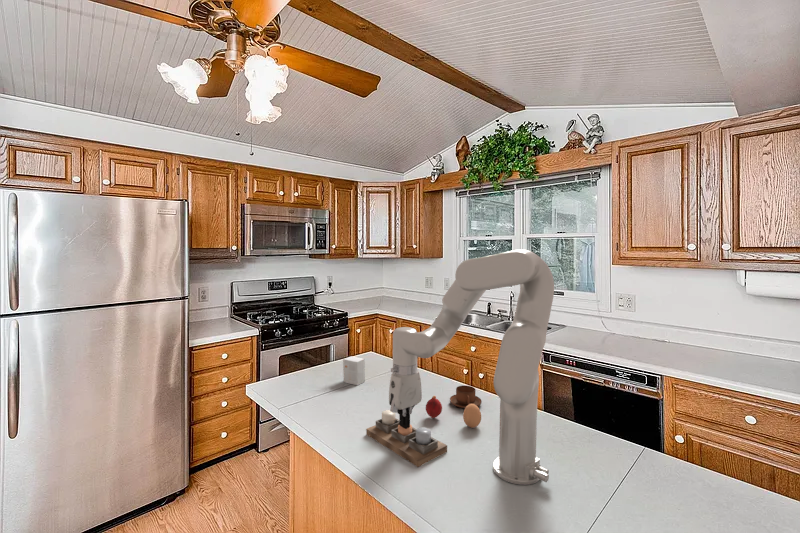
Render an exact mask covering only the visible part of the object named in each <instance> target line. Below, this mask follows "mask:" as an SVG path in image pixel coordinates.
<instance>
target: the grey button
mask: <svg viewBox="0 0 800 533" xmlns="http://www.w3.org/2000/svg"><path fill="white" fill-rule="evenodd" d="M415 429H416V443H418V444H420V445H427V444H429V443H430V442H431V437H432V430H431V429H430V428H429V427H419V428H415Z"/></svg>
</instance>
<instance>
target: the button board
mask: <svg viewBox="0 0 800 533" xmlns="http://www.w3.org/2000/svg"><path fill="white" fill-rule="evenodd" d="M398 425H399V418H396V417H395V424H393V425H384V424H383V423H382V418H379V419H377V420H375V425H371V426H370V427H368V428H365V431H366V433H365V434H366V436H367V437H369V438H371V439H372V440H373V441H375V442H377V443H379V444H380V445H382V446H383V447H385V448H387V449H388V450H390V451H391V452H392V453H395V454H397V455H398V457H399V456H400V457H401V458H403V459H404V460H406V461H407V462H409V463H410V464H412V465H414V466H415V467H417V468H419V467H422V466H423V465H425V464H427V463H428V462H431V461H432V460H434V459H436V458H438V457H440V456H442V455H444V454H446V453H448V445H447V444H446V443H443V442H442V441H440V440H437V438H434V437H432V436H431V442H430V443H429V444H427V445H420V444H418V443H416V429H417V428H415V427H413V426H412V433H410V434H408V435H406V436H403V435H402V434H400V433H398Z"/></svg>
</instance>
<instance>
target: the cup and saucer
mask: <svg viewBox="0 0 800 533" xmlns="http://www.w3.org/2000/svg"><path fill="white" fill-rule="evenodd" d="M455 390H456V391H455V394H453V395H452V396H450V398H449V403H451V404H452V405H453V406H455V407H458V408H461V409H465V408H466V406H467V405H469V404H475V405H476V406H477V407H478V408H479V406H480V405H481V404H482V399H481V397H478V396H477V395H476V388H475V387H474V386H471V385H458V386H456V388H455Z"/></svg>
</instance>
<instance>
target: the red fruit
mask: <svg viewBox="0 0 800 533" xmlns="http://www.w3.org/2000/svg"><path fill="white" fill-rule="evenodd" d="M442 411H443V406H442V403H441V401H440V400H439V399H437V396H436V395H433V396H432V397H431V399H429V400H428V401H427V402H426V404H425V412H426V413H427V415H428V416H429V417H430V418H432V419H436V418H437V417H439V416H440V415H441V414H442Z"/></svg>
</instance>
